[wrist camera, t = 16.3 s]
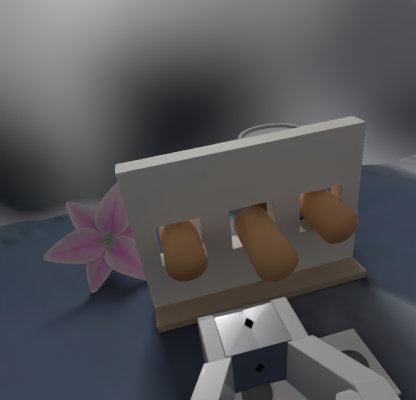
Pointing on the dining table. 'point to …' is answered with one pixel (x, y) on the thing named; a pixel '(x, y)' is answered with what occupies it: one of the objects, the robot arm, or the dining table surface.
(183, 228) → the button left
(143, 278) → the lily
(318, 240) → the panel
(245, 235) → the button middle
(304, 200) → the button right
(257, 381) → the robot arm
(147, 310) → the dining table surface
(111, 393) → the dining table surface
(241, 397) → the card
